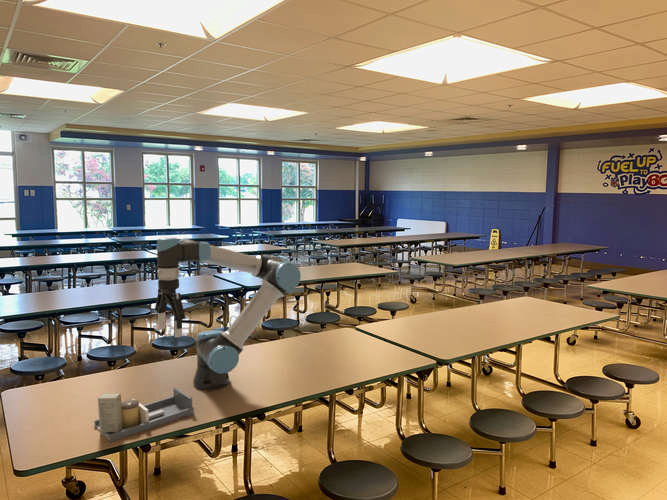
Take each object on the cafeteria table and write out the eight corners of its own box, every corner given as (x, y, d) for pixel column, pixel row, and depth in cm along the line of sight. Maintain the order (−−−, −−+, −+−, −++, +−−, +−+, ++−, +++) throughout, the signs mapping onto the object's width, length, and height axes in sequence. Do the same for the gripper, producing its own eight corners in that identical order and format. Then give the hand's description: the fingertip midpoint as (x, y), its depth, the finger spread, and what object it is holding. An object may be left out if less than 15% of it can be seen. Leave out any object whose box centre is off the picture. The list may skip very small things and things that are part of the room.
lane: (94, 426, 166) (93, 410, 165) (175, 401, 187) (174, 386, 186) (110, 442, 155) (109, 425, 155) (193, 414, 176) (193, 398, 176)
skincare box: (123, 426, 165) (122, 392, 163) (117, 432, 160) (116, 398, 159) (104, 426, 165) (103, 392, 163) (98, 432, 160) (97, 398, 159)
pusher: (131, 415, 174) (131, 399, 173) (155, 407, 180) (155, 392, 179) (146, 427, 165) (145, 410, 164) (170, 418, 171) (170, 402, 170)
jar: (117, 424, 167) (117, 403, 166) (135, 418, 172) (134, 398, 171) (124, 430, 163) (124, 408, 162) (142, 424, 167) (141, 403, 166)
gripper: (144, 275, 185) (146, 327, 187) (174, 284, 167) (176, 342, 170) (163, 273, 190) (164, 324, 192) (193, 281, 172) (195, 338, 175)
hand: (170, 332), depth 181 cm, fingers open, 13 cm apart
